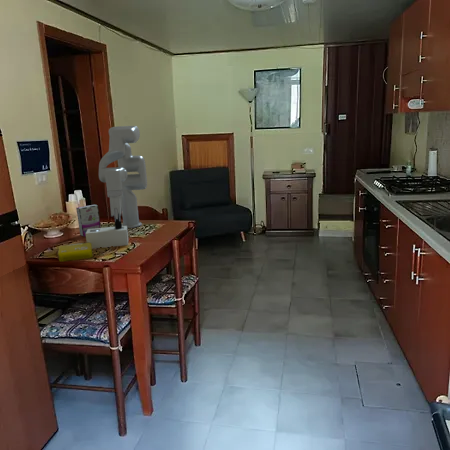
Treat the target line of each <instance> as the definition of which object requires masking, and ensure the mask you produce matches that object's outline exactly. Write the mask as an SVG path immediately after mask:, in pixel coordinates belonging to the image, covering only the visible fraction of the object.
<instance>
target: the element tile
mask: <svg viewBox="0 0 450 450" xmlns="http://www.w3.org/2000/svg"><path fill="white" fill-rule="evenodd" d="M57 256H58V262H60V263H61V262H70V261H78V260H83V259H84V260H85V259H86V260H87V259H91V258H93V256H94V255H93V248H92V245H91V243H90V242H89V243H87V242H81V243H73V244H66V245H60V246H58V251H57Z"/></svg>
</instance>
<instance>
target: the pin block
mask: <svg viewBox="0 0 450 450" xmlns="http://www.w3.org/2000/svg"><path fill="white" fill-rule="evenodd" d="M122 228H123V229H119V230H115V226H109V227H108V226H107V227H101V228H95V229H88V230H87V232H86V233H85V234H86V236H85V241H86V242H85V243H89V242H90V243H91V245H92V249H100V247H102V248H110V247H111V246H113V247H121V246H122V247H123V246H128V245H129V233H128V232H129V231H128V228H127V226H122ZM92 230H99V231H96V232H91V231H92ZM111 248H112V247H111Z"/></svg>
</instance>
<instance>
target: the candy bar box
mask: <svg viewBox="0 0 450 450" xmlns="http://www.w3.org/2000/svg"><path fill="white" fill-rule="evenodd" d="M75 210H76V216H77V221H78V230H79V235H80V236H82V237H86V234H85V233H86V232H87V230H88V229H95V228H102V226H101V222H100V220H101V219H100V212H99V206H98V205H97V204H91V205H84V206H79V207H76V209H75Z"/></svg>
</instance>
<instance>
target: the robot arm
mask: <svg viewBox="0 0 450 450" xmlns="http://www.w3.org/2000/svg"><path fill="white" fill-rule="evenodd" d="M140 134H141V132H140V128H139V127H138V126H137V125H121V126H112V127H110V128H109V129H108V135H109V143H108V151H107V152H106V153H105V154H104V155H103V156H102V157H101V159H100V161H99V164H98V179H99V181H100V182H101V183H105V185H106V186H105V187H106V195H107V198H109V206H110V207H109V208H110V217H112V218H114V227H115V229H122V226H127V229H134V228H139V227H141V226H142V225H143V223H142V222H141V221H140V219H139V218H140V217H139V207H138V198H137V195H136V194H135V193H134V192H133V191H140V190H145V189H147V187H148V175H147V168H146V167H147V166H146V160H145V158H144V157H143V155H133V153H132V147H131V145H130V144H135V143H137V142H139V139H140V136H141V135H140ZM116 161H117V165H118V167H108V166H109V165H110V164H112V163H114V162H116ZM135 172H136V173H135ZM128 173H130V174H128ZM134 173H135V174H134ZM121 216H122V219H121Z"/></svg>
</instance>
